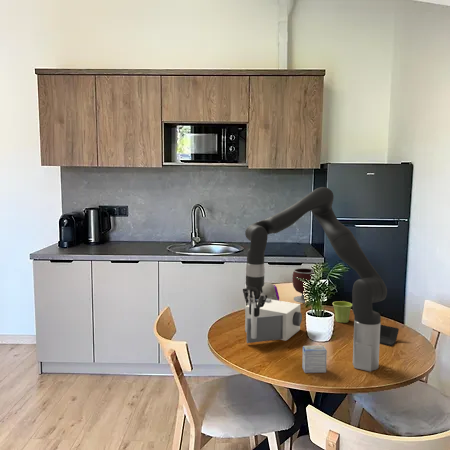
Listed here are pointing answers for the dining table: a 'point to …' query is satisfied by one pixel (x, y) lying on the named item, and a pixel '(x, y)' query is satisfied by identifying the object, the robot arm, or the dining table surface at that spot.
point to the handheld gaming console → (388, 335)
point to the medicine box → (314, 359)
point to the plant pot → (342, 311)
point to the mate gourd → (299, 284)
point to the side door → (264, 327)
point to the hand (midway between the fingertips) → (254, 315)
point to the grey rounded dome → (270, 291)
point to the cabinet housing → (286, 309)
